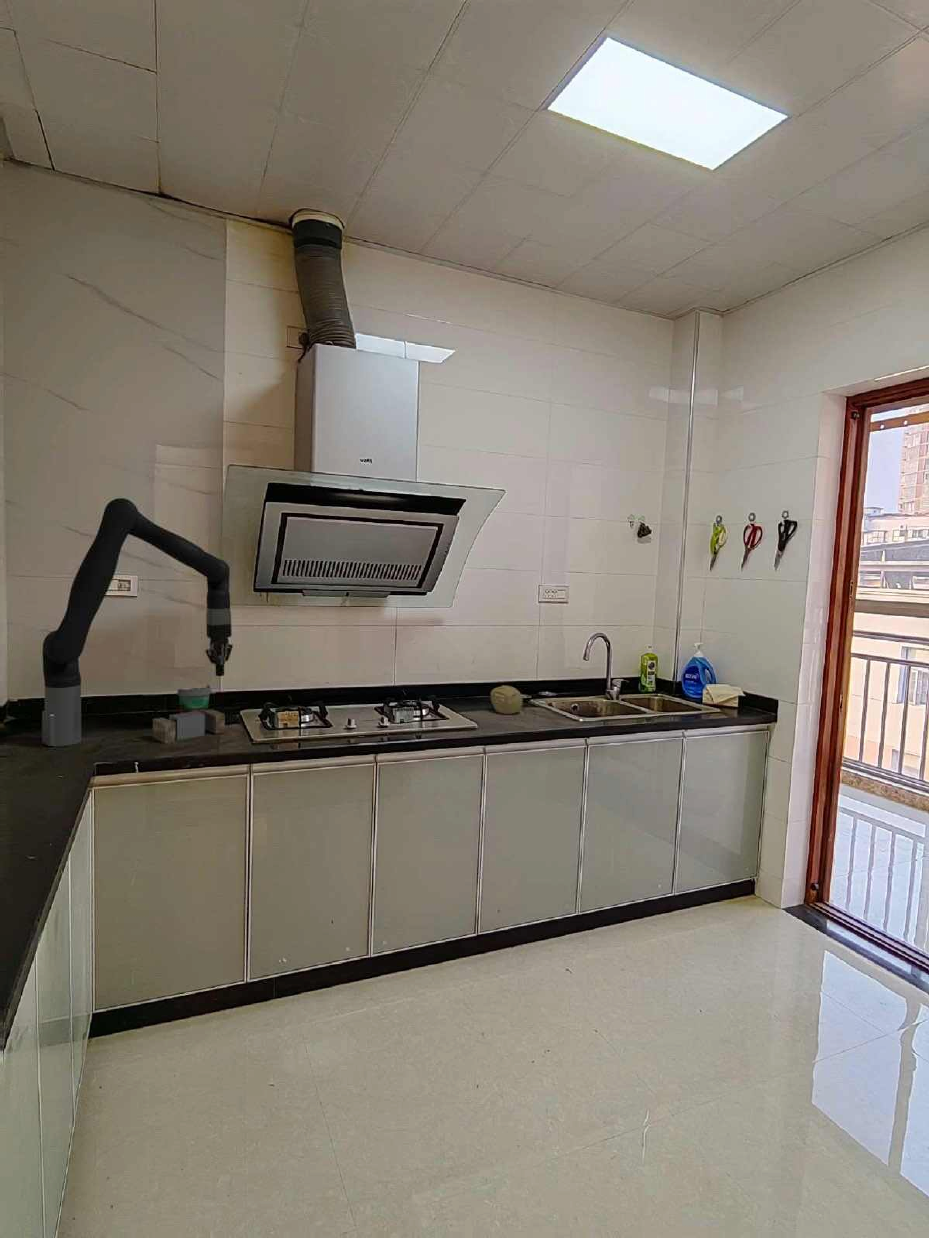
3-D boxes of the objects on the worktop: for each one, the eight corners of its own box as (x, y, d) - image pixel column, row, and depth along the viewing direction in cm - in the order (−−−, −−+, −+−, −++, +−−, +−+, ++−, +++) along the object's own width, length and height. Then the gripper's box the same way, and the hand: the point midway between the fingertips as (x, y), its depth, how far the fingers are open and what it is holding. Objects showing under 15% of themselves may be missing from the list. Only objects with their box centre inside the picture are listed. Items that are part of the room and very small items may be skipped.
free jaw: (214, 733, 222) (214, 715, 221) (201, 728, 227) (201, 710, 226) (224, 732, 224) (224, 713, 224) (211, 727, 229) (211, 709, 229)
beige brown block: (165, 743, 209) (165, 724, 209) (152, 738, 215) (152, 719, 214) (176, 741, 212) (176, 722, 211) (163, 736, 217) (163, 717, 217)
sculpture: (485, 711, 274) (486, 684, 273) (506, 708, 282) (508, 681, 281) (506, 717, 266) (507, 689, 265) (527, 713, 274) (529, 686, 273)
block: (177, 740, 214) (177, 718, 213) (169, 737, 217) (169, 715, 216) (204, 735, 221) (204, 713, 220) (196, 732, 224) (196, 711, 223)
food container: (186, 720, 238) (186, 691, 237) (176, 717, 242) (176, 688, 241) (218, 714, 248) (218, 687, 247) (208, 711, 252) (208, 684, 251)
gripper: (219, 619, 229) (220, 671, 231) (196, 624, 216) (197, 679, 218) (240, 620, 227) (241, 672, 229) (218, 625, 215) (219, 680, 216)
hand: (220, 675), depth 224 cm, fingers closed
